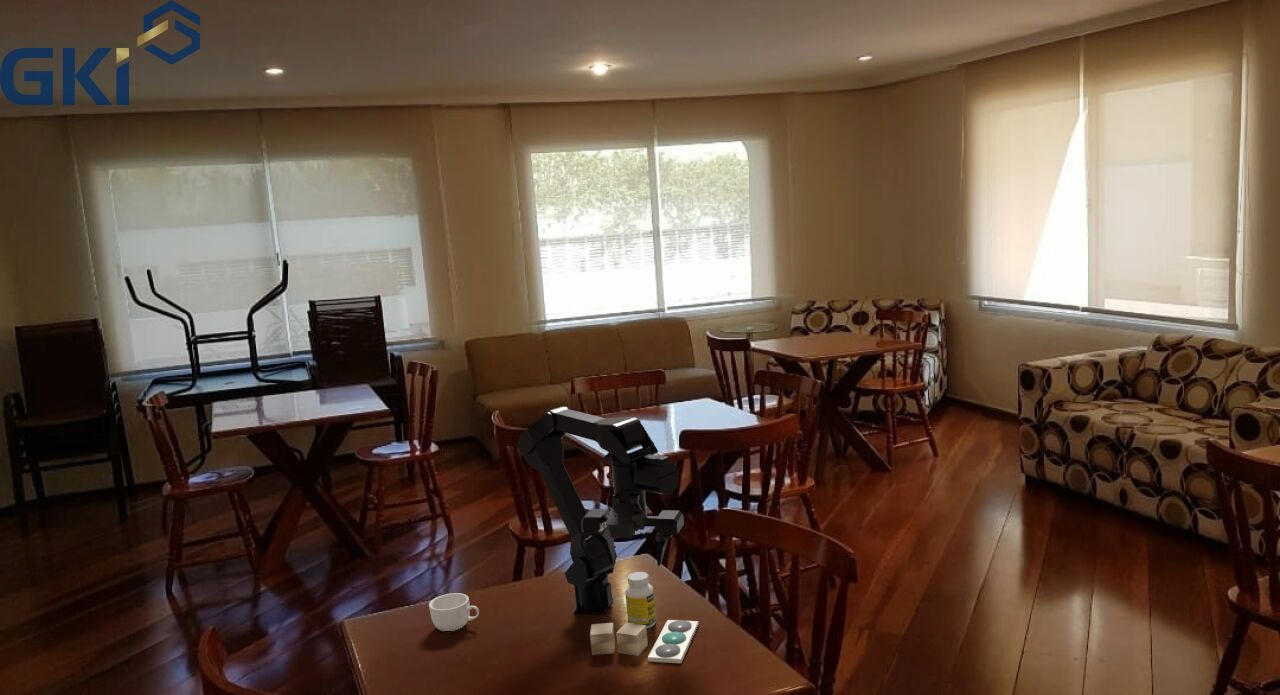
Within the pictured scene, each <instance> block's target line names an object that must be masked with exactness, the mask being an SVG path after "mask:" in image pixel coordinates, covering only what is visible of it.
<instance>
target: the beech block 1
mask: <svg viewBox="0 0 1280 695" xmlns="http://www.w3.org/2000/svg"><path fill="white" fill-rule="evenodd" d="M589 633H590V634H589V638H590V649H591V655H592V656H594V655H609V654H614V653H615V649H616V648H615V646H616V639H615V637H616V636H615V628H614V622H607V623H606V622H603V623H594V624H593V623H592V624H591V626H590V632H589Z"/></svg>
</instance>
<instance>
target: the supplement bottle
mask: <svg viewBox="0 0 1280 695" xmlns="http://www.w3.org/2000/svg"><path fill="white" fill-rule="evenodd" d="M649 582H650V578H649V574H648V572H644V571H635V572H632V573H630V574H629V575H628V576H627V584H628V586H626V588H625V591H624V593H625V594H624V595H625V606H626V614H627V616H626V617H627V623H634V624H640V625H646V630H647V629H651V628H653V626H655V624H656V621H657V619H656V607H655V606H656V604H655V595H654V594H655V593H654V588H653V585H652V584H650V583H649Z"/></svg>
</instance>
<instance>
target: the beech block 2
mask: <svg viewBox="0 0 1280 695" xmlns="http://www.w3.org/2000/svg"><path fill="white" fill-rule="evenodd" d="M615 633H616V642H617V643H616V644H617V652H618V653H619V654H623V655H624V654H625V655H629V656H630V655H631V656H637V657H639V656H640V655H641V653H642V652H643V651H645V649H646V648H647V647H648V645H649V644H648V634H647V633H648V632H647V629H646V625H640V624H634V623H628V621H627V622H626V623H624V624H623V625H622V626H621V627H620V628H619V629H617V632H615Z"/></svg>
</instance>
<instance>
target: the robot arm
mask: <svg viewBox="0 0 1280 695" xmlns="http://www.w3.org/2000/svg"><path fill="white" fill-rule="evenodd" d="M567 434H569V435H571V436H572V435H573V436H576V437H580V438H583V439H587V440H590V441H594V442H596V443H597V444H598V446H599V448H600V449H602V450H604V451H606V452H607V453H606V455H604V456H603V457H602V460H603V461H604V462H607V463H611V469H612V470H611V471H612V481H613V482H612V484H613V492H614V494H612V505H611V510H609V509H608V508H591V509H589V511H588V512H587V511H586V508H585V506H584V503H583V501H582V499H581V498H580V496H579V493H578V492H577V491H578V490H577V489H576V488H575V485H574V483H573V481H572V478H571V477H570V475H569V473H568V471H567V468H566V467H565V466H566V465H565V464H564V451H565V450H564V449H565V448H564V444H563V442H562V439H563V438H564V437H565V435H567ZM517 447H518V450H519V452H520V454H521V455H522V457H523V459H524V460H525V462H526V463H527V465H528V466H530V467H531V468H533V469H534V470H535V471H537V472H538V473H540V475H541V477H542V479H543V481H544V483H545V485H546V487H547V490H548V492H549V495H550V496H551V498H552V500H553V502H554V504H555V507H556V510H558V513H559V515H560V517H561V520H562V522H563V524H564V526H565V528H566V530H567V532H568V534H569V536H570V546H569V548H570V549H569V554H570V557H571V561H572V564H571V565H570V566H569V567H568V568H567V569H566V571H564V575H565V578H566V581H567V583H568V584H570V585H572V586H573V588H574V595H575V596H574V597H575V604H576V606H575V607H574V608H573V613H577V614H597V615H603V614H605V612H606V611H607V610H608V608H610V606H611V604H612V603H613V601H614V598H613V593H612V583H611V582H609V577H608V575H610V574H613V573H614V571H615V570H614V568H615V565H616V562H617V557H618V555H617V552H616V548H617V547H616V545H615V540H614V539H616V538H625V539H632V538H633V537H634V536H635V535H636V532H638V531H639V530H641V531H643V530H645V527H647V528H648V527H650V528H655V531H656V532H657V533H656V535H655V540H656V563H657V567H661V565H662V562H663V559H664V554H665V551H666V548H667V544H668V541H669V539H671V538H672V537H673V536H675V535H678V534H679V533H680V531H681V529H682V528H683V526H684V524H685V520H684V514H683V513H682V512H681V511H680V510H676V509H675V510H670V509H668V510H665V509H662V510H661V512H660V513H659V514H658V516H656V515H648V512H649V506H647V502H646V492H650V493H654V494H660V495H664V496H670V495H672V494H673V493H674V492H675V491H676V489H677V488H678V484H679V480H680V472H679V471H678V469H677V467H676V466H675V465H674V463H671V461H670V460H671V459H670V457H669V456H666V455H658V453H659V450H658V448H657V446H656V445H655V443H654V441H653V440H652V438H651V437H650V435H649V433H648V432H647V430H646V428H645V426H644V425H643V424H642V421H641V420H640V419H639V418H637V417H633V416H620V417H611V418H605V417H601V416H597V415H593V414H589V413H586V412H581V411H577V410H574V409H569V408H568V407H567V406H558V407H555V408H553V409H549V410H546V411H545V412H544V413H543V414H542V415H541V417H540V418H539V419H538V420H537V421H535V422H533V424H531V425H530V426H529V427H528V428H527V429H526V430H524V431H523V432H521V433H520V434H519V437H518V442H517ZM640 447H642V448H640ZM636 448H639V449H636ZM634 449H635V450H634ZM632 450H634V451H632ZM629 451H631V452H629ZM656 454H657V455H656Z"/></svg>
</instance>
